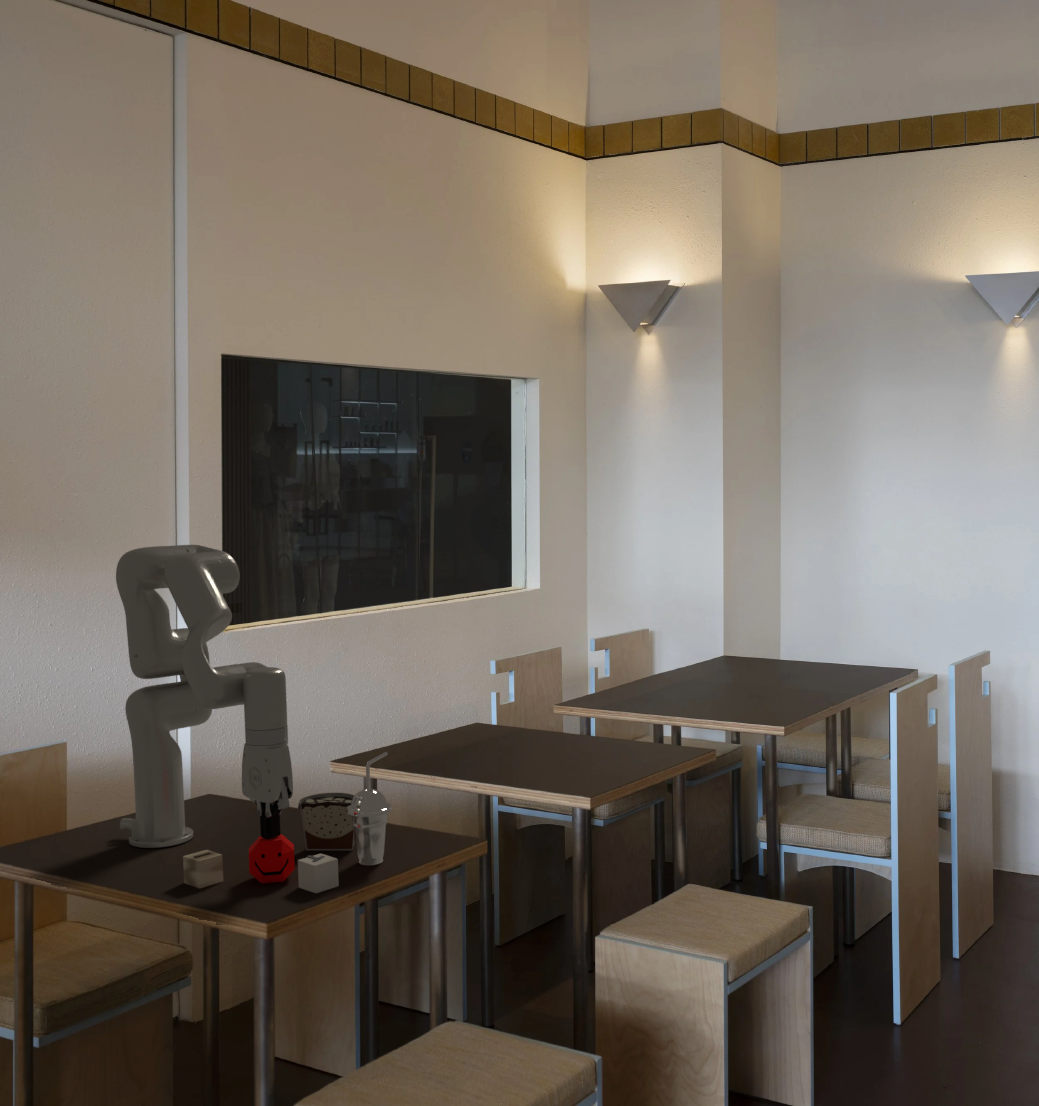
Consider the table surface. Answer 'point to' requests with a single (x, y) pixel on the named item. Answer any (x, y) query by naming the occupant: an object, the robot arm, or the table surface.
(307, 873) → the off-white block numbered 7
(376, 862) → the cup with straw
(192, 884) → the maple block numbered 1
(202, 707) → the robot arm
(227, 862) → the table surface
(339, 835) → the food container
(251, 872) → the ball
